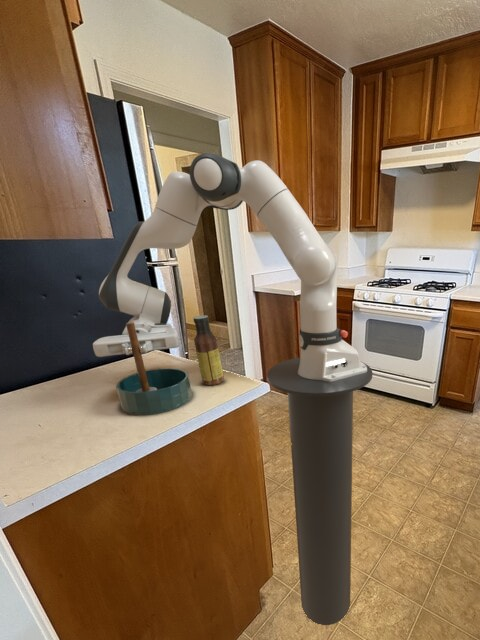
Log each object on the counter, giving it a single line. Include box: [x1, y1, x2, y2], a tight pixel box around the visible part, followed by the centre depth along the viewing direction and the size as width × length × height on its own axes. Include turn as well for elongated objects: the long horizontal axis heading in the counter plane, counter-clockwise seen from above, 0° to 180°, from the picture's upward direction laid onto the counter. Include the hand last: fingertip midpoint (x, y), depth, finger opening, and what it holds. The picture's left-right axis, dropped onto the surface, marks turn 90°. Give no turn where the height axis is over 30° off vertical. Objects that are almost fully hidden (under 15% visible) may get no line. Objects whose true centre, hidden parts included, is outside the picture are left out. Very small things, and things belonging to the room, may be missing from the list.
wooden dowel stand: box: [125, 322, 157, 392], centre depth 89 cm, size 5×5×19 cm
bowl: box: [115, 367, 193, 416], centre depth 94 cm, size 17×17×6 cm
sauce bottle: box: [192, 315, 225, 386], centre depth 102 cm, size 7×6×20 cm
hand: (136, 350), depth 87 cm, fingers closed on wooden dowel stand
